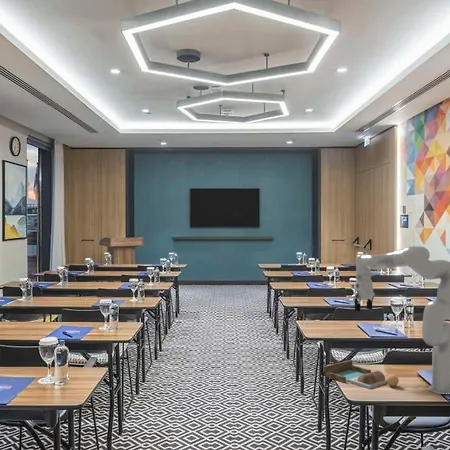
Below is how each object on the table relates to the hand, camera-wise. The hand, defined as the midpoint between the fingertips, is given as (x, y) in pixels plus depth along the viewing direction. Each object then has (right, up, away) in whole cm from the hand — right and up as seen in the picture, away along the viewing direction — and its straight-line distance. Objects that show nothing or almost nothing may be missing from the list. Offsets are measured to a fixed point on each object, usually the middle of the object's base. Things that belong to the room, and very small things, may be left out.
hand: (363, 310), depth 268 cm
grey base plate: (-4, -31, -23) cm, 39 cm away
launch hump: (-3, -33, -24) cm, 41 cm away
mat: (-11, -31, -13) cm, 35 cm away
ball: (+6, -31, -29) cm, 43 cm away
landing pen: (-12, -31, -13) cm, 35 cm away
